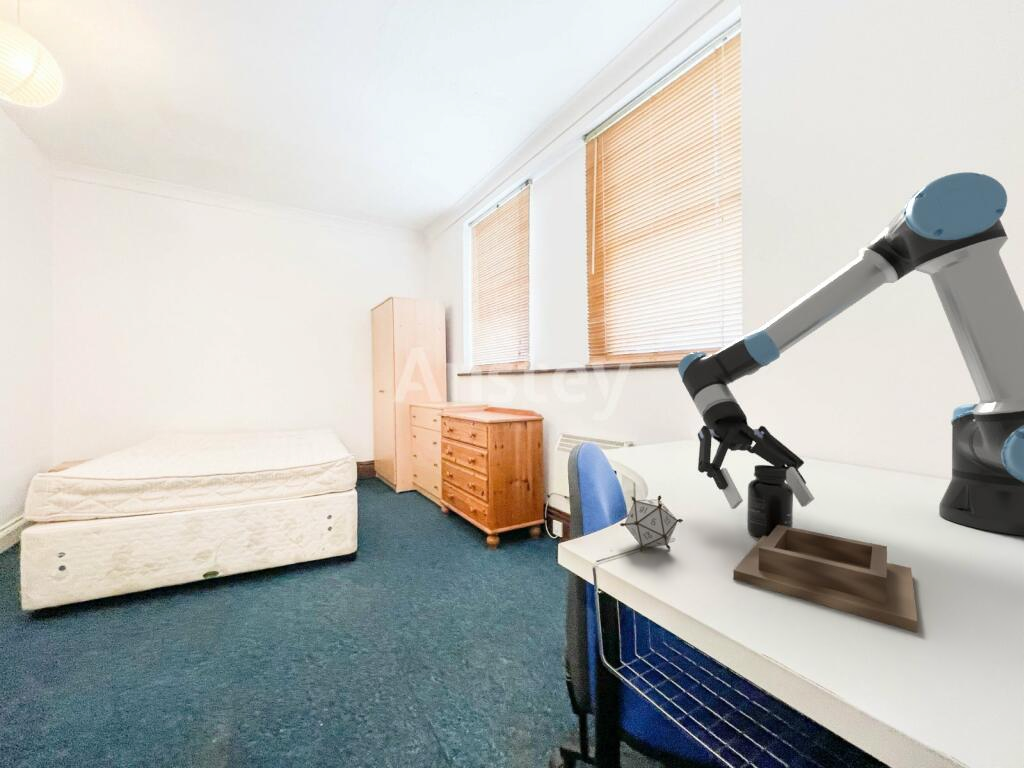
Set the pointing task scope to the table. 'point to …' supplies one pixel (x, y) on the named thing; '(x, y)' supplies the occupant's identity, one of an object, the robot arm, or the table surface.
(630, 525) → the game die
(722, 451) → the robot arm
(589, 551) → the table surface
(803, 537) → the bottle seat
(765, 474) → the supplement bottle
